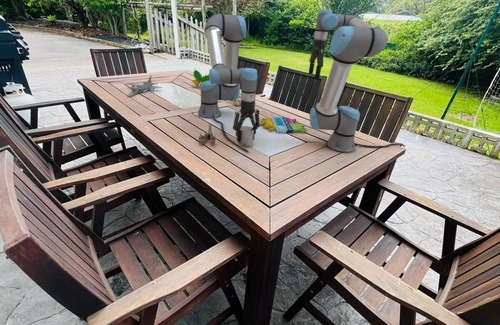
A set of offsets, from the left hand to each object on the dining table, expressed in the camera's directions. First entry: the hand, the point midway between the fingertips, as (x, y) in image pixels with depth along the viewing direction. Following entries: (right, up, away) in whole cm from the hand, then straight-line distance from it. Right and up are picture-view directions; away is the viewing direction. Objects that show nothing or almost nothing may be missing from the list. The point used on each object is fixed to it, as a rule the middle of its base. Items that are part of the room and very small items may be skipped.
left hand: (245, 140), depth 146 cm
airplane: (-91, +50, +84) cm, 134 cm away
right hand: (+43, +43, +21) cm, 64 cm away
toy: (-5, +39, +75) cm, 85 cm away
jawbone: (-21, -1, +2) cm, 21 cm away
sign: (+24, +12, +31) cm, 41 cm away
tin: (0, -1, +1) cm, 1 cm away
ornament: (-43, +61, +109) cm, 132 cm away
